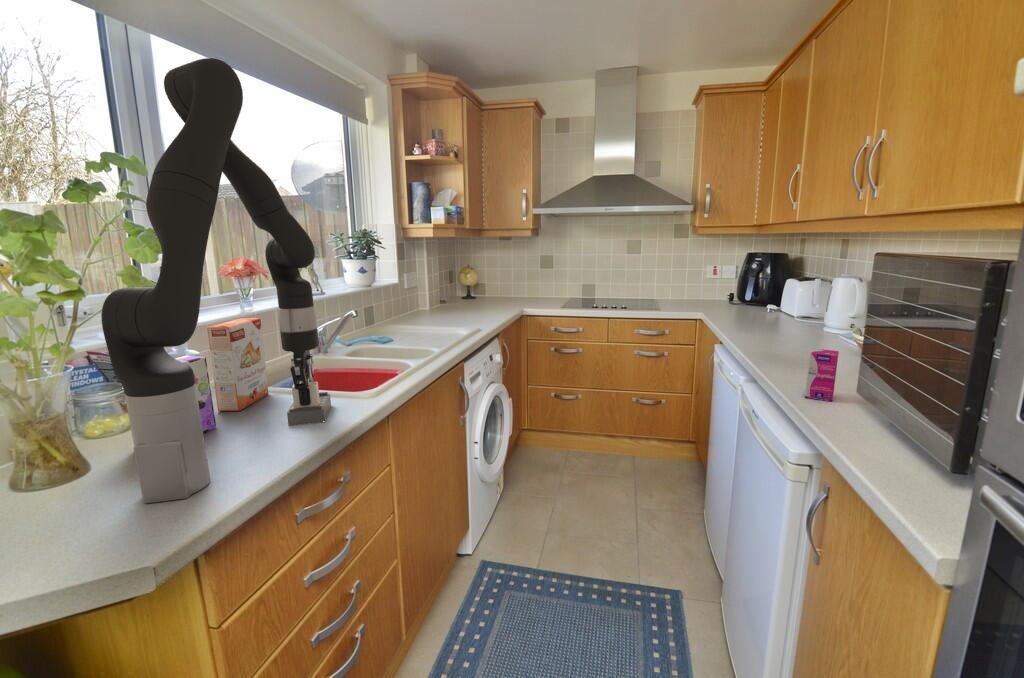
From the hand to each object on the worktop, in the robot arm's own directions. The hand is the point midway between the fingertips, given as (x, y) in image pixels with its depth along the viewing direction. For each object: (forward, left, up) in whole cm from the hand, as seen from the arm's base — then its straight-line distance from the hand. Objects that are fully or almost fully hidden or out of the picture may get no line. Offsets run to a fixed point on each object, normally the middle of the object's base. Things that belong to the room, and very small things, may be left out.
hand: (306, 402), depth 110 cm
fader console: (+3, 0, -4) cm, 5 cm away
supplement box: (-20, -120, -4) cm, 122 cm away
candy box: (-4, +25, -4) cm, 26 cm away
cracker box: (+18, +18, -4) cm, 26 cm away
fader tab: (0, 0, -1) cm, 1 cm away
